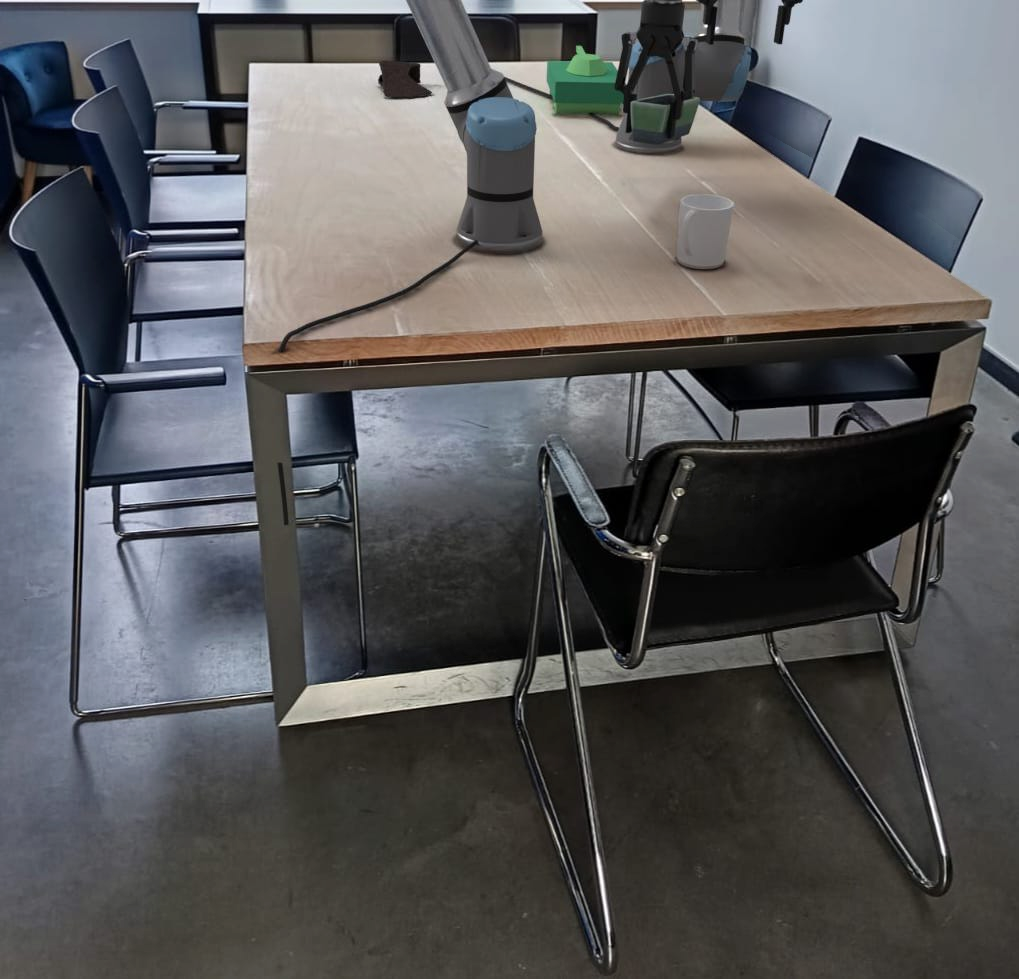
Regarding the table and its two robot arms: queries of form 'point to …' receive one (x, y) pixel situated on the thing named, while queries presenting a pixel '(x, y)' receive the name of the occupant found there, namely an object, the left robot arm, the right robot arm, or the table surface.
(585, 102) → the toy tank
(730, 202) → the mug
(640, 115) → the planter
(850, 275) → the table surface
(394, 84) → the axe head
